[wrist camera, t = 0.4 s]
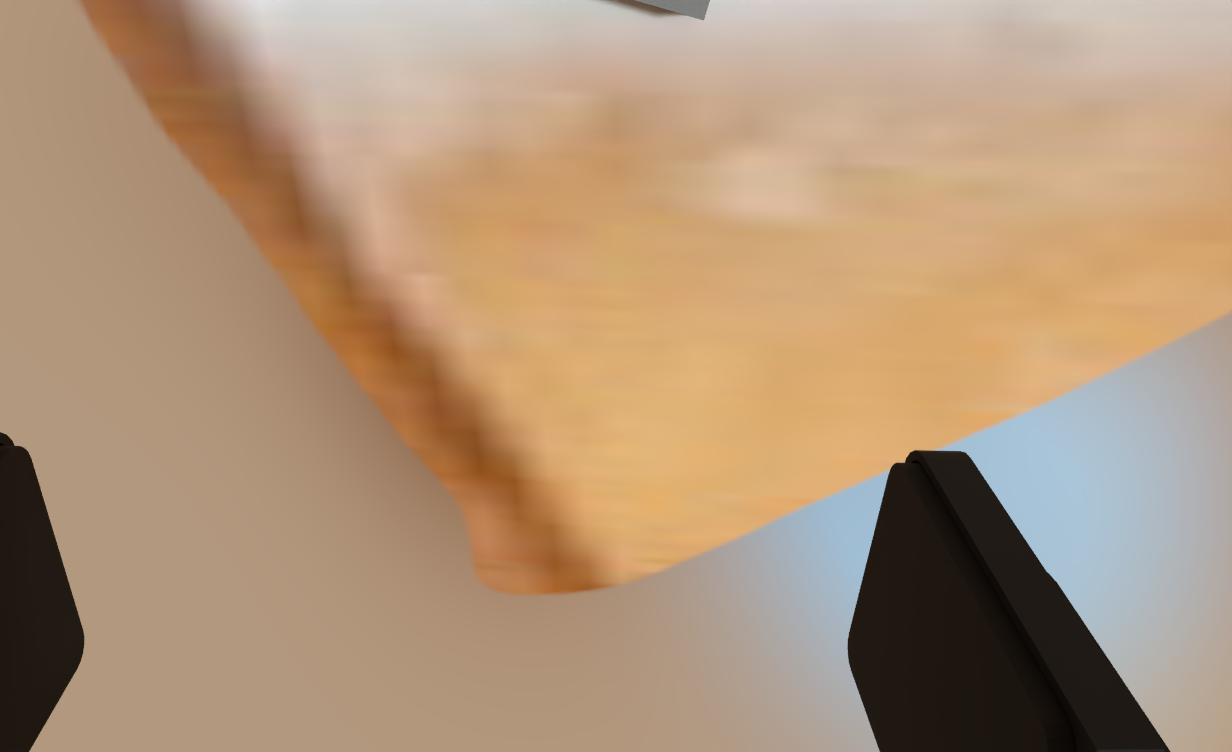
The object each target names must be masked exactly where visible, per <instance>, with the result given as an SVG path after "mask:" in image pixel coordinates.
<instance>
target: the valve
mask: <svg viewBox="0 0 1232 752" xmlns="http://www.w3.org/2000/svg"><path fill="white" fill-rule="evenodd" d="M635 1H639V2H642V3H646V4H649V5H653V6H656V7H659V8H663V9H666V10H670V11H673V12H677V13H680V14H684V15H687V16H690V17H694V18H697V19H701V20H704V18H705V14H706V11H707V8H708V5H709V1H710V0H635Z"/></svg>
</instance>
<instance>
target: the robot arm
mask: <svg viewBox="0 0 1232 752" xmlns="http://www.w3.org/2000/svg"><path fill="white" fill-rule="evenodd" d="M83 648H84V633H83V628H82V625H81V622H80V618H79V615H78V612H77V608H76V605H75V602H74V599H73V595H72V592H71V588H70V585H69V582H68V579H67V575H66V572H65V569H64V566H63V562H62V559H61V556H60V552H59V549H58V546H57V542H56V539H55V535H54V532H53V529H52V526H51V522H50V519H49V516H48V512H47V509H46V506H45V502H44V499H43V496H42V492H41V489H40V486H39V483H38V479H37V476H36V473H35V469H34V466H33V463H32V459H31V457H30V455H29V453H28V451H27V450H26V449H24V448H23V447H20V446H14V443H13V441H12V440H11V439H10V438H9V437H8V436H7V435H6V434H4V433H1V432H0V752H29V751H30V749H31V747H32V746H33V744H34V742H35V740H36V739H37V737H38V735H39V733H40V732H41V730H42V728H43V726H44V725H45V723H46V722H47V720H48V718H49V716H50V715H51V713H52V711H53V709H54V708H55V706H56V704H57V703H58V701H59V699H60V697H61V696H62V694H63V692H64V690H65V689H66V687H67V685H68V684H69V682H70V680H71V679H72V677H73V675H74V673H75V672H76V670H77V668H78V666H79V664H80V662H81V658H82V655H83ZM848 658H849V664H850V668H851V671H852V674H853V677H854V680H855V682H856V685H857V688H858V691H859V694H860V697H861V699H862V702H863V705H864V708H865V711H866V714H867V716H868V719H869V722H870V725H871V728H872V731H873V733H874V736H875V739H876V742H877V745H878V748H879V750H880V752H1170V751H1169V749H1168V747H1167V746H1166V745H1165V743H1164V742H1163V740H1162V738H1161V737H1160V735H1159V734H1158V732H1157V731H1156V729H1155V728H1154V727H1153V725H1152V724H1151V722H1150V721H1149V719H1148V718H1147V716H1146V715H1145V713H1144V712H1143V710H1142V709H1141V707H1140V706H1139V704H1138V703H1137V701H1136V700H1135V698H1134V697H1133V695H1132V694H1131V692H1130V691H1129V690H1128V688H1127V687H1126V685H1125V683H1124V682H1123V680H1122V679H1121V678H1120V676H1119V674H1118V673H1117V671H1116V670H1115V668H1114V667H1113V665H1112V664H1111V662H1110V661H1109V660H1108V658H1107V657H1106V655H1105V654H1104V652H1103V651H1102V649H1101V648H1100V646H1099V645H1098V643H1097V642H1096V640H1095V639H1094V637H1093V636H1092V634H1091V633H1090V631H1089V630H1088V628H1087V627H1086V625H1085V624H1084V622H1083V621H1082V619H1081V618H1080V616H1079V615H1078V613H1077V612H1076V611H1075V609H1074V608H1073V606H1072V604H1071V603H1070V602H1069V600H1068V598H1067V597H1066V596H1065V594H1064V593H1063V591H1062V590H1061V588H1060V587H1059V585H1058V584H1057V582H1056V581H1055V580H1054V579H1053V578H1052V577H1051V576H1050V574H1049V573H1047V572H1046V570H1045V569H1044V567H1043V566H1042V564H1041V563H1040V561H1039V560H1038V558H1037V557H1036V555H1035V554H1034V552H1033V551H1032V549H1031V548H1030V547H1029V545H1028V543H1027V542H1026V540H1025V539H1024V538H1023V536H1022V534H1021V533H1020V531H1019V530H1018V528H1017V527H1016V525H1015V524H1014V523H1013V521H1012V519H1011V518H1010V516H1009V515H1008V513H1007V512H1006V510H1005V509H1004V507H1003V506H1002V504H1001V503H1000V501H999V500H998V498H997V497H996V495H995V494H994V492H993V491H992V489H991V488H990V487H989V485H988V483H987V482H986V480H985V479H984V477H983V476H982V474H981V473H980V471H979V470H978V468H977V467H976V465H975V464H974V463H973V461H972V459H971V458H970V457H969V456H968V455H967V454H966V453H964V452H961V451H919V450H915V451H913V452H911V453H910V454H909V455H908V457H907V458H906V461H905V463H895V464H894V465H893V466H892V467H891V469H890V472H889V475H888V479H887V483H886V488H885V492H884V496H883V499H882V503H881V508H880V511H879V515H878V519H877V523H876V528H875V531H874V536H873V540H872V544H871V548H870V552H869V556H868V560H867V564H866V568H865V572H864V576H863V580H862V584H861V588H860V592H859V596H858V600H857V604H856V608H855V612H854V616H853V620H852V624H851V628H850V632H849V638H848Z"/></svg>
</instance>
